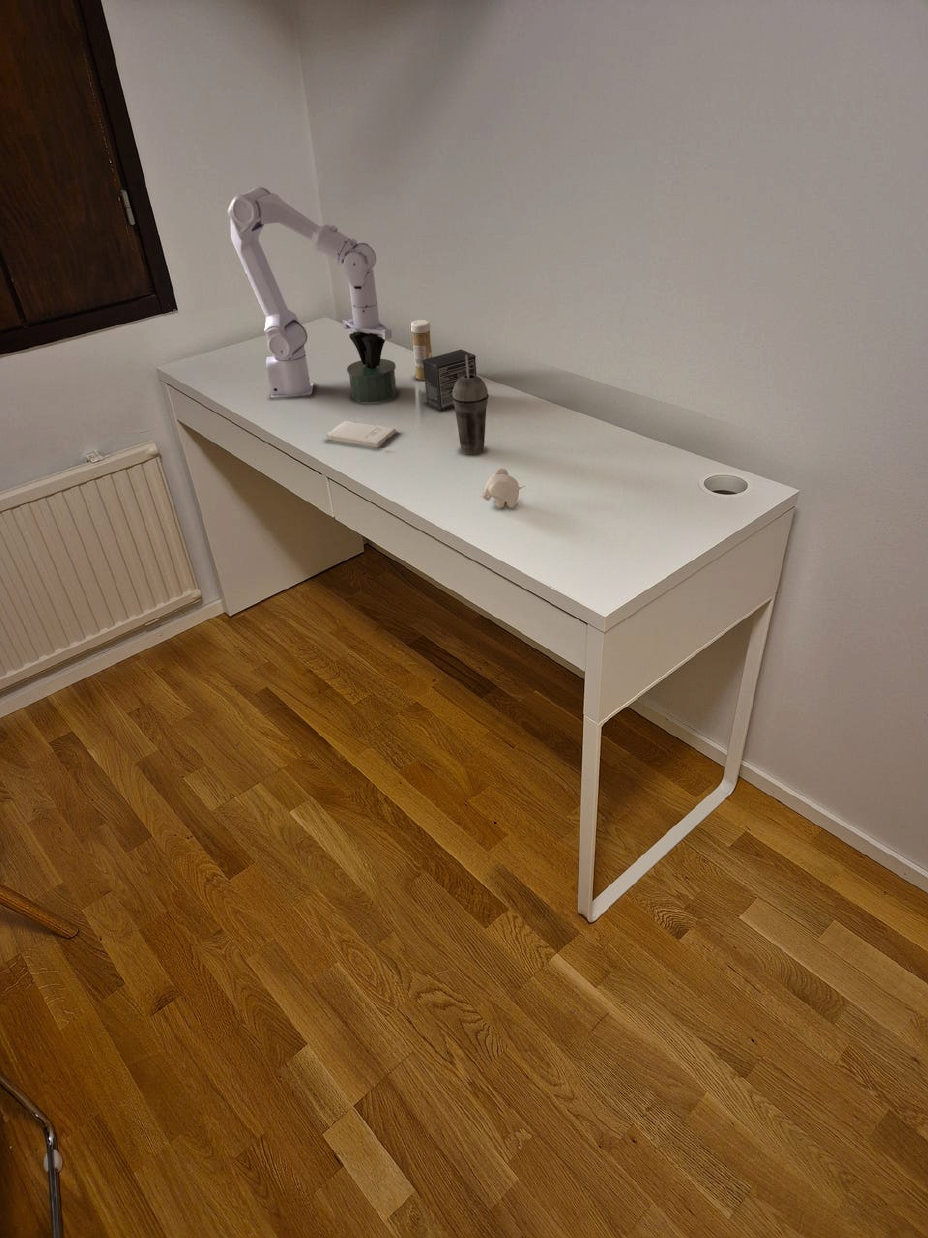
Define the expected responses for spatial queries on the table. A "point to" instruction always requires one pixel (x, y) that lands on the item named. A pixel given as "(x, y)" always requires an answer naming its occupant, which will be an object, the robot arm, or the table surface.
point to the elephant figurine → (502, 489)
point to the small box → (445, 376)
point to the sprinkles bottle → (421, 345)
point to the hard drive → (360, 434)
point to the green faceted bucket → (373, 387)
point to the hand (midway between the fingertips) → (371, 364)
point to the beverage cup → (470, 411)
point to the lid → (370, 368)
